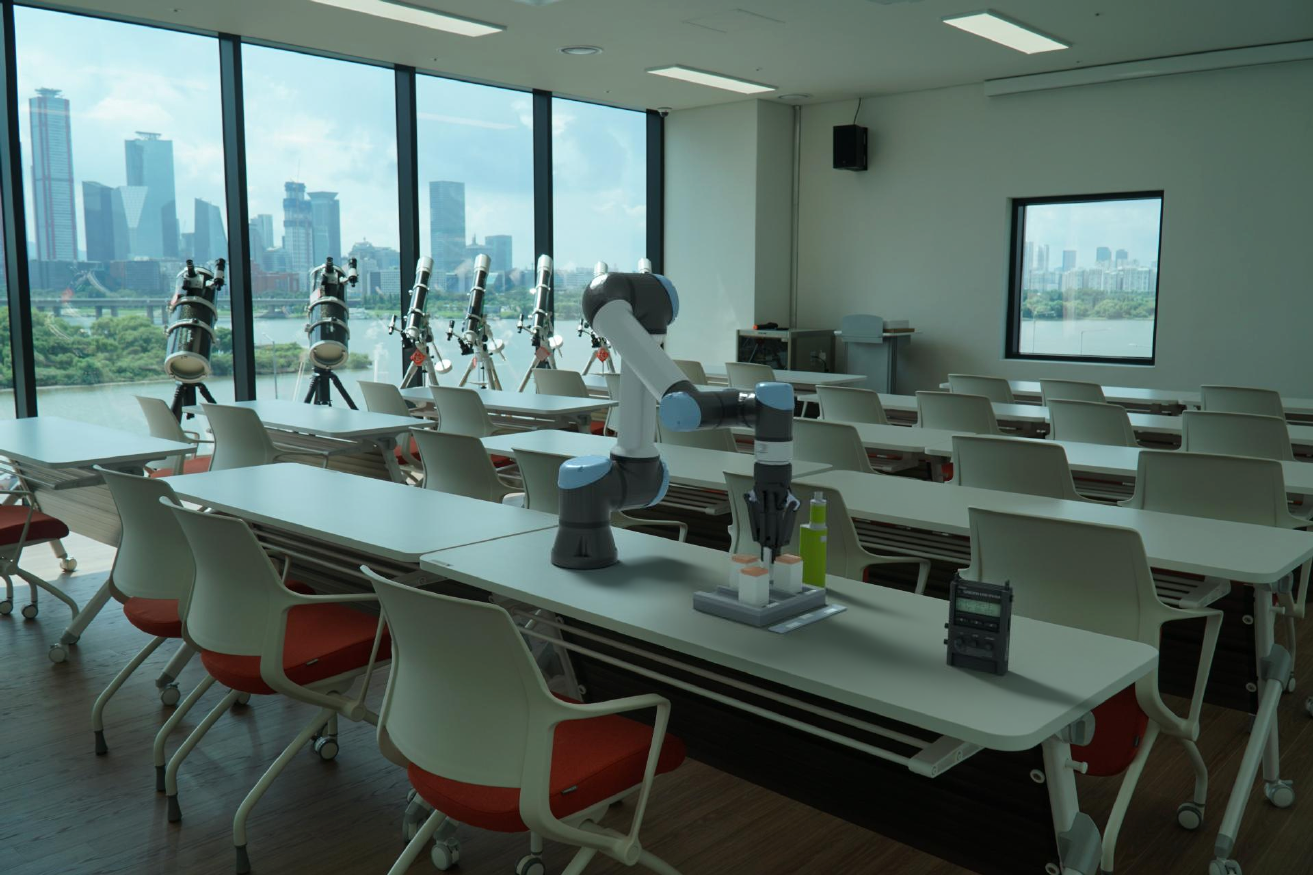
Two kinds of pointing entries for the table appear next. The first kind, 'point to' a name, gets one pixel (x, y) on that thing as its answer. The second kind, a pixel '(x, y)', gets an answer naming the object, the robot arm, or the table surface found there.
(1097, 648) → the table surface
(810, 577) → the vape
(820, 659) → the table surface
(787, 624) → the label card
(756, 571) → the orange topped white block
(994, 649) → the geiger counter
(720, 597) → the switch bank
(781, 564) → the white orange-topped block
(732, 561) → the orange-topped white block
